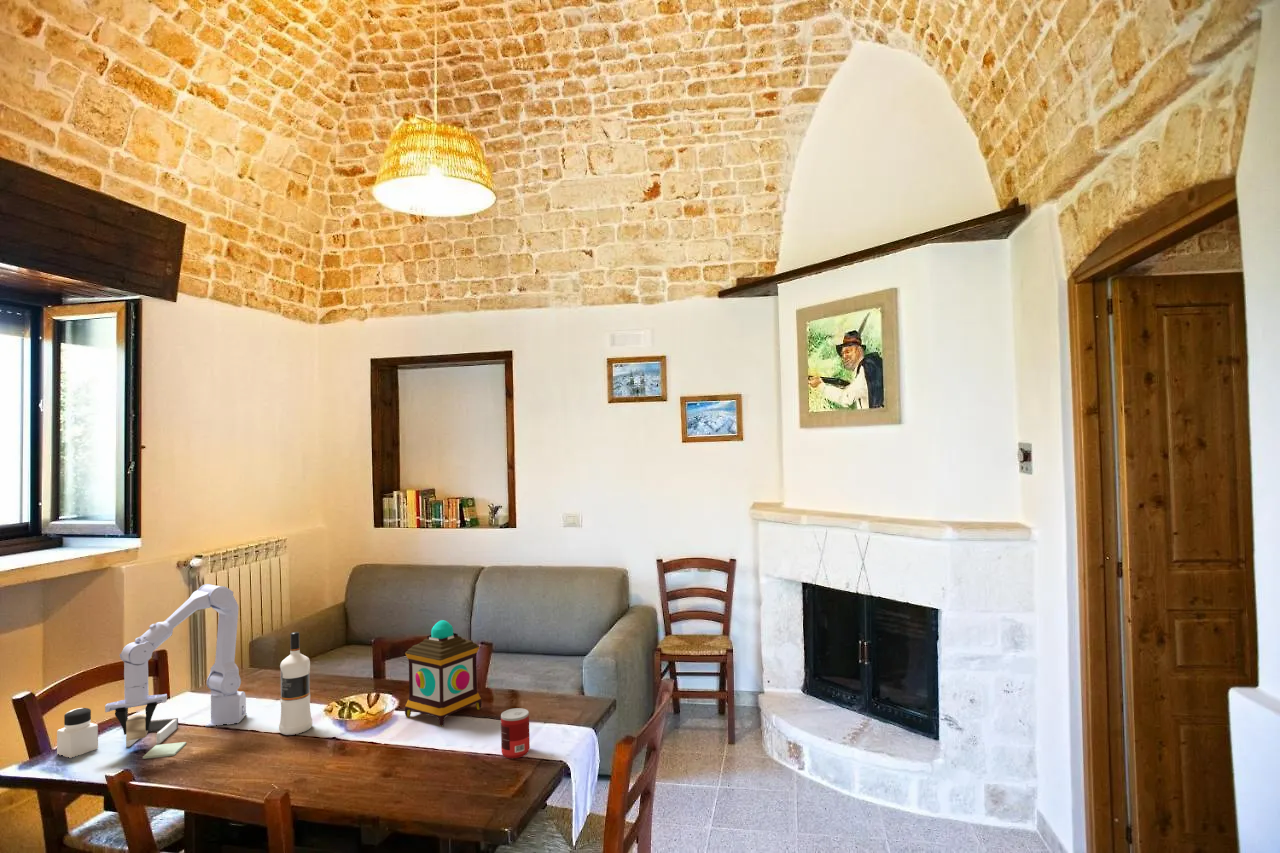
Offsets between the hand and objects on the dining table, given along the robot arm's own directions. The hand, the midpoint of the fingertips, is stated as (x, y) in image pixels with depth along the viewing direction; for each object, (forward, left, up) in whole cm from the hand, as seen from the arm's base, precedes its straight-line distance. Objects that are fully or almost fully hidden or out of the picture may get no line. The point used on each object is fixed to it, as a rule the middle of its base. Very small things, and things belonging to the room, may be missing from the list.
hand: (137, 731), depth 204 cm
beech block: (0, 0, -2) cm, 2 cm away
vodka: (-42, -4, -6) cm, 43 cm away
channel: (0, -9, -6) cm, 11 cm away
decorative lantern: (-86, -6, -6) cm, 86 cm away
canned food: (-108, +30, -6) cm, 112 cm away
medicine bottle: (+17, -4, -6) cm, 18 cm away
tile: (-8, +3, -6) cm, 10 cm away
